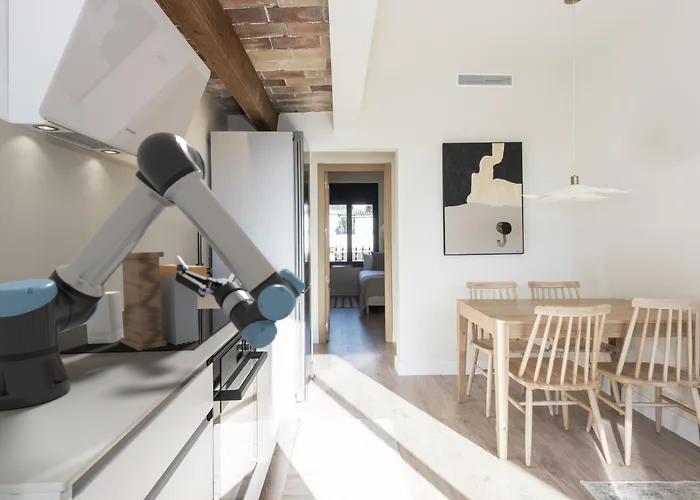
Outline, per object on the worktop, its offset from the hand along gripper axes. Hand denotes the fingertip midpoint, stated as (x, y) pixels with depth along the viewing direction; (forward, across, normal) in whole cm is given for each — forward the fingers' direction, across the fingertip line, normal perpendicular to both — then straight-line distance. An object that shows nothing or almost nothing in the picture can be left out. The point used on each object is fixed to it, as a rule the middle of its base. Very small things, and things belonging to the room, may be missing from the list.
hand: (200, 258), depth 125 cm
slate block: (+2, 0, -31) cm, 31 cm away
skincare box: (+16, -16, -39) cm, 45 cm away
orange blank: (+9, 0, -11) cm, 14 cm away
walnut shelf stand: (+4, -10, -32) cm, 34 cm away
